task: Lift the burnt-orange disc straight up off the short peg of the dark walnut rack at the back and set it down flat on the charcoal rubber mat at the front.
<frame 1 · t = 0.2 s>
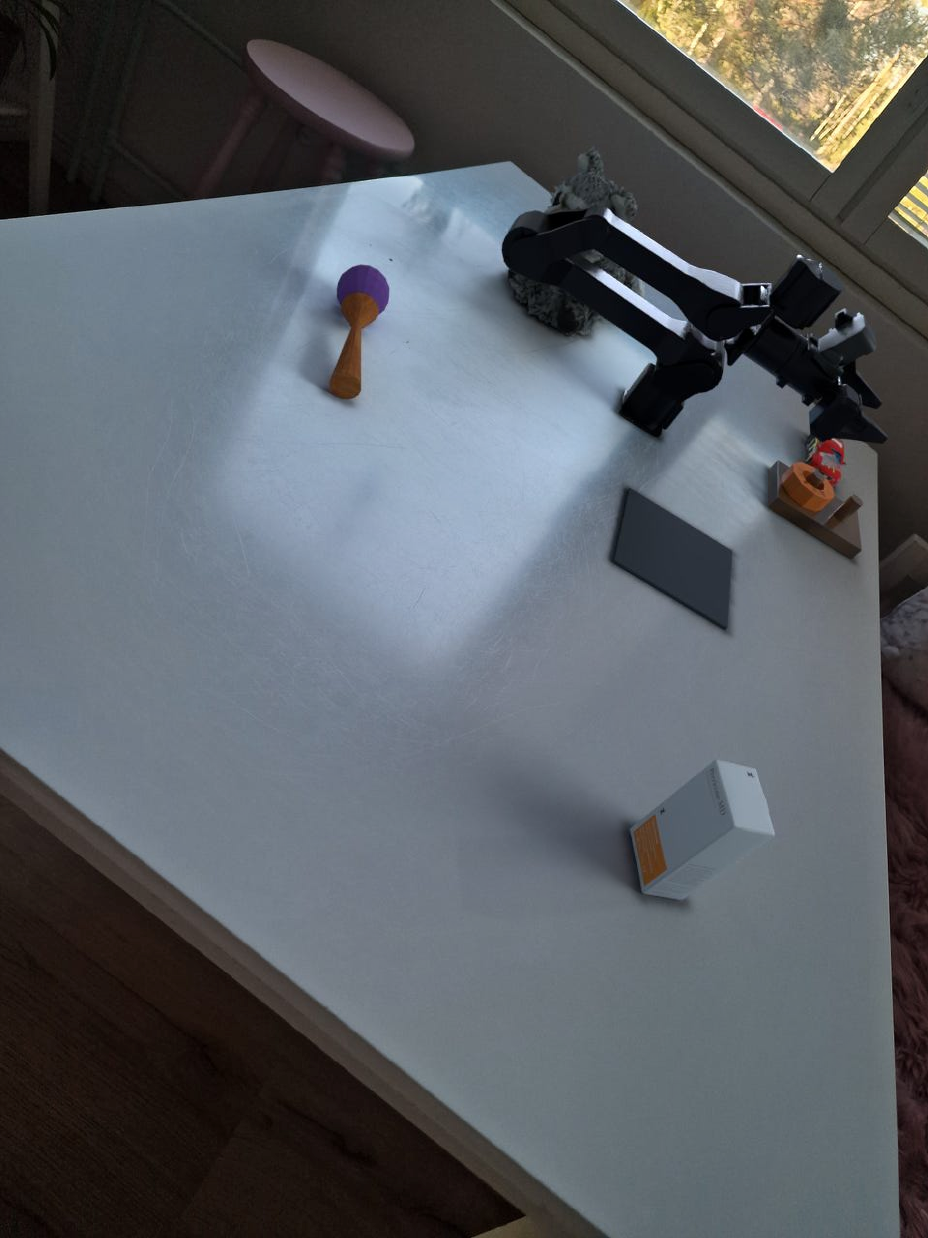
hand: (882, 422, 126), 17 cm above the table, tool horizontal, fingers open, 9 cm apart
race car: (816, 464, 151), on the table
raccoon plush: (562, 297, 145), on the table
cosmetic box: (652, 866, 83), on the table
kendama: (347, 347, 110), on the table
mat: (674, 557, 115), on the table
disc: (801, 492, 137), point 2 cm above the table, touching rack
rack: (809, 513, 138), on the table
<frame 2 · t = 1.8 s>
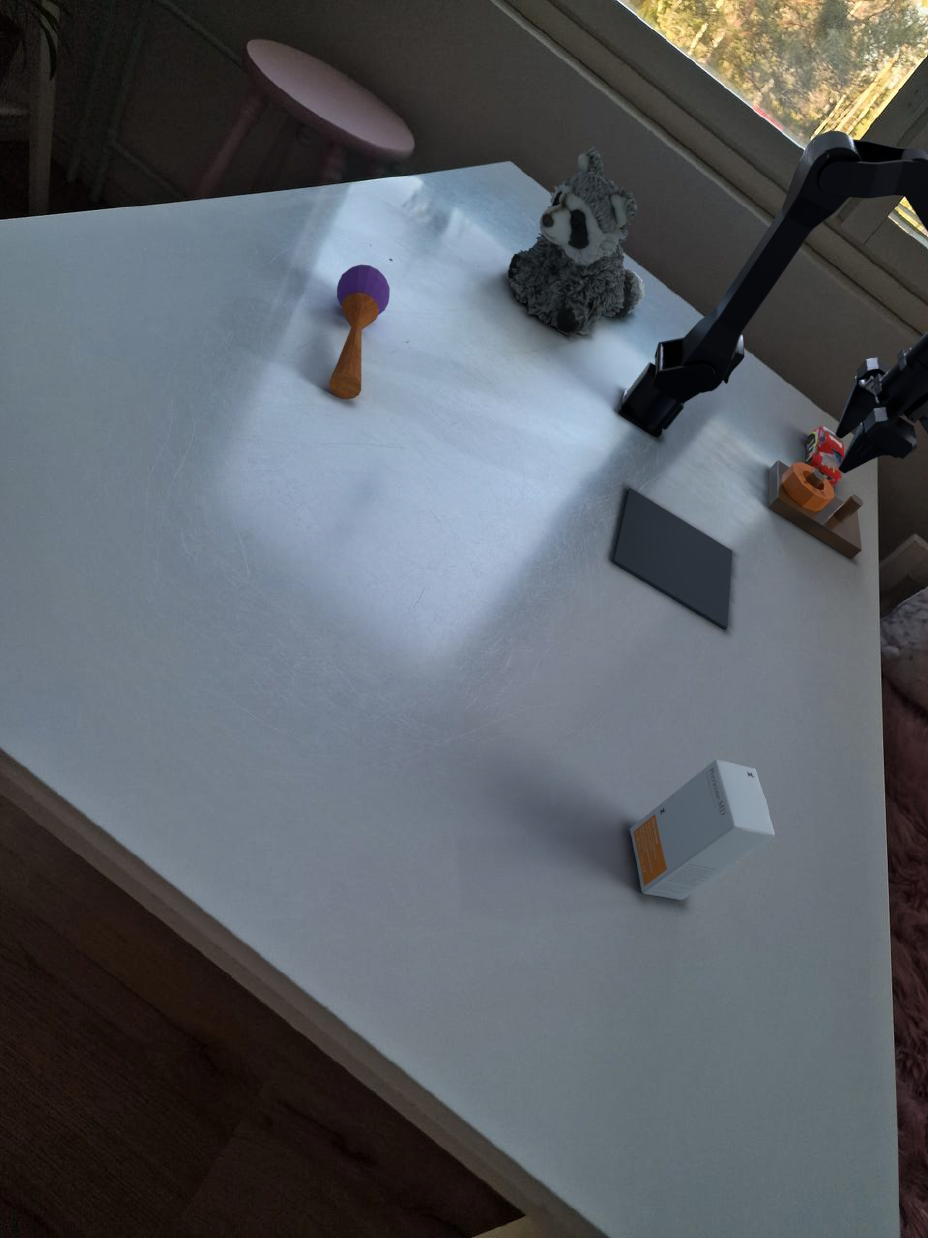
hand: (839, 453, 132), 10 cm above the table, tool pointing down, fingers open, 9 cm apart
nothing on the table moved.
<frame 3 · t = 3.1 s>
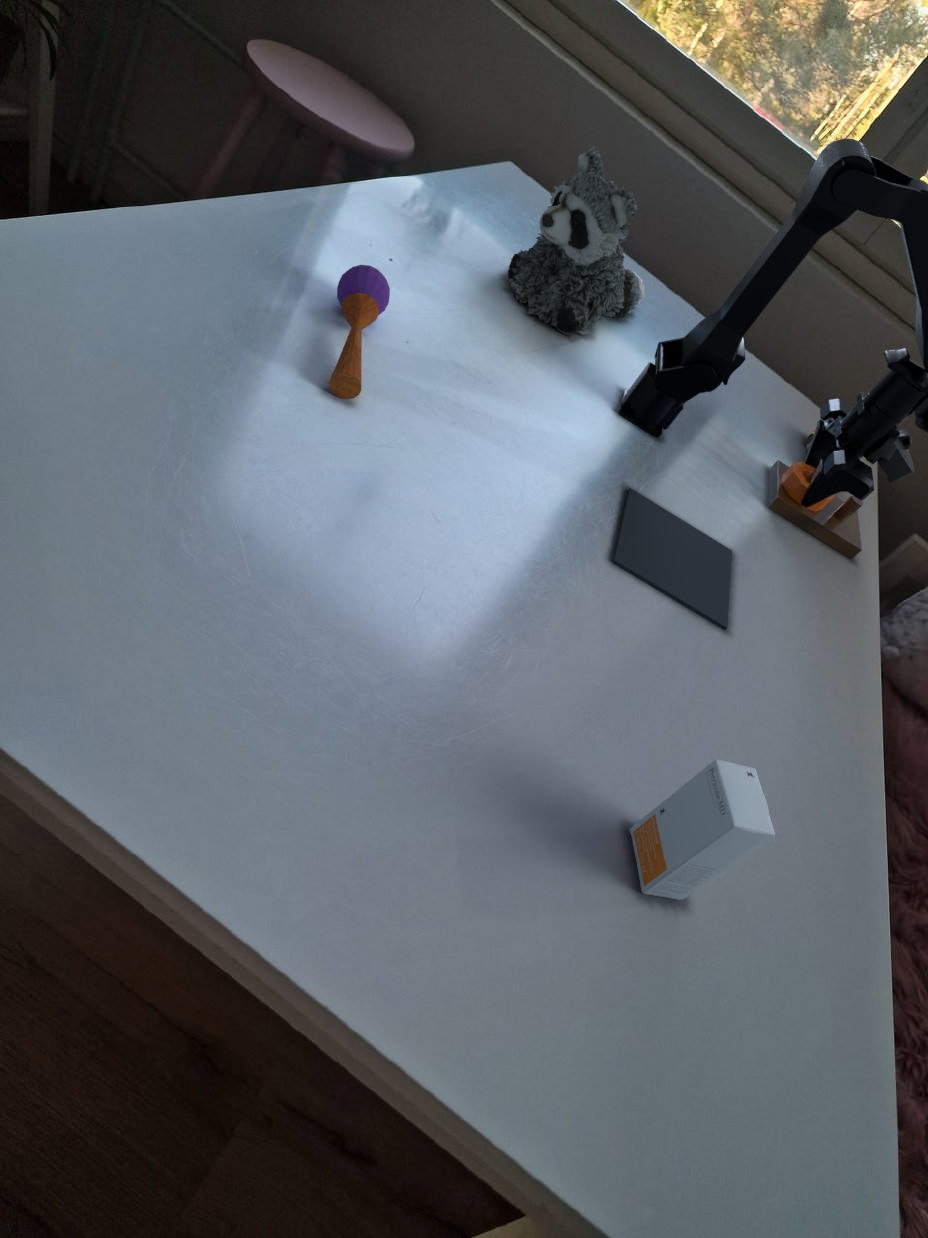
hand: (803, 491, 136), 2 cm above the table, tool pointing down, fingers closed on disc, 7 cm apart
disc: (801, 492, 137), point 2 cm above the table, touching gripper, rack
everything else where it was.
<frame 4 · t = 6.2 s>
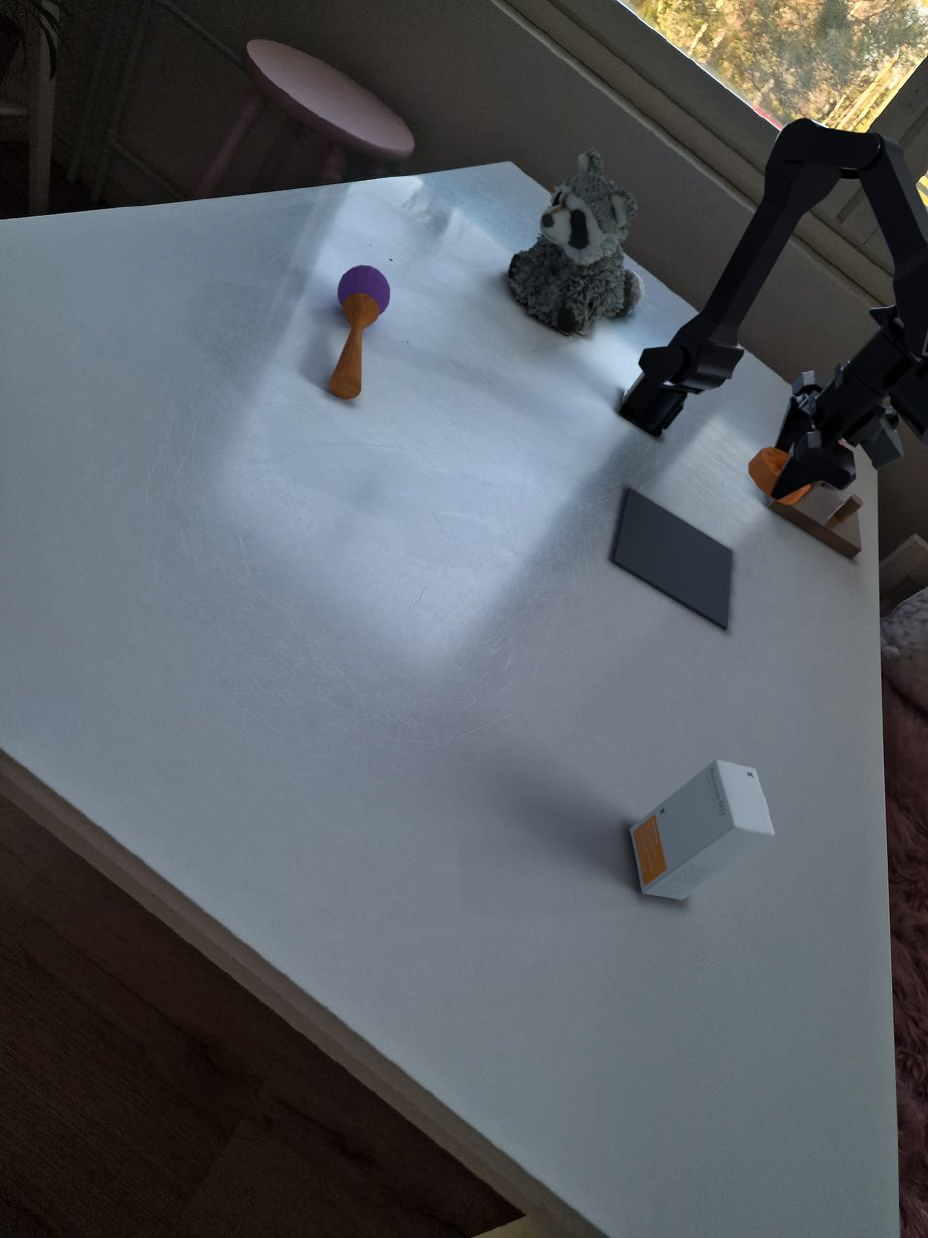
hand: (773, 480, 116), 10 cm above the table, tool pointing down, fingers closed on disc, 7 cm apart
disc: (772, 482, 116), point 10 cm above the table, touching gripper
everything else where it was.
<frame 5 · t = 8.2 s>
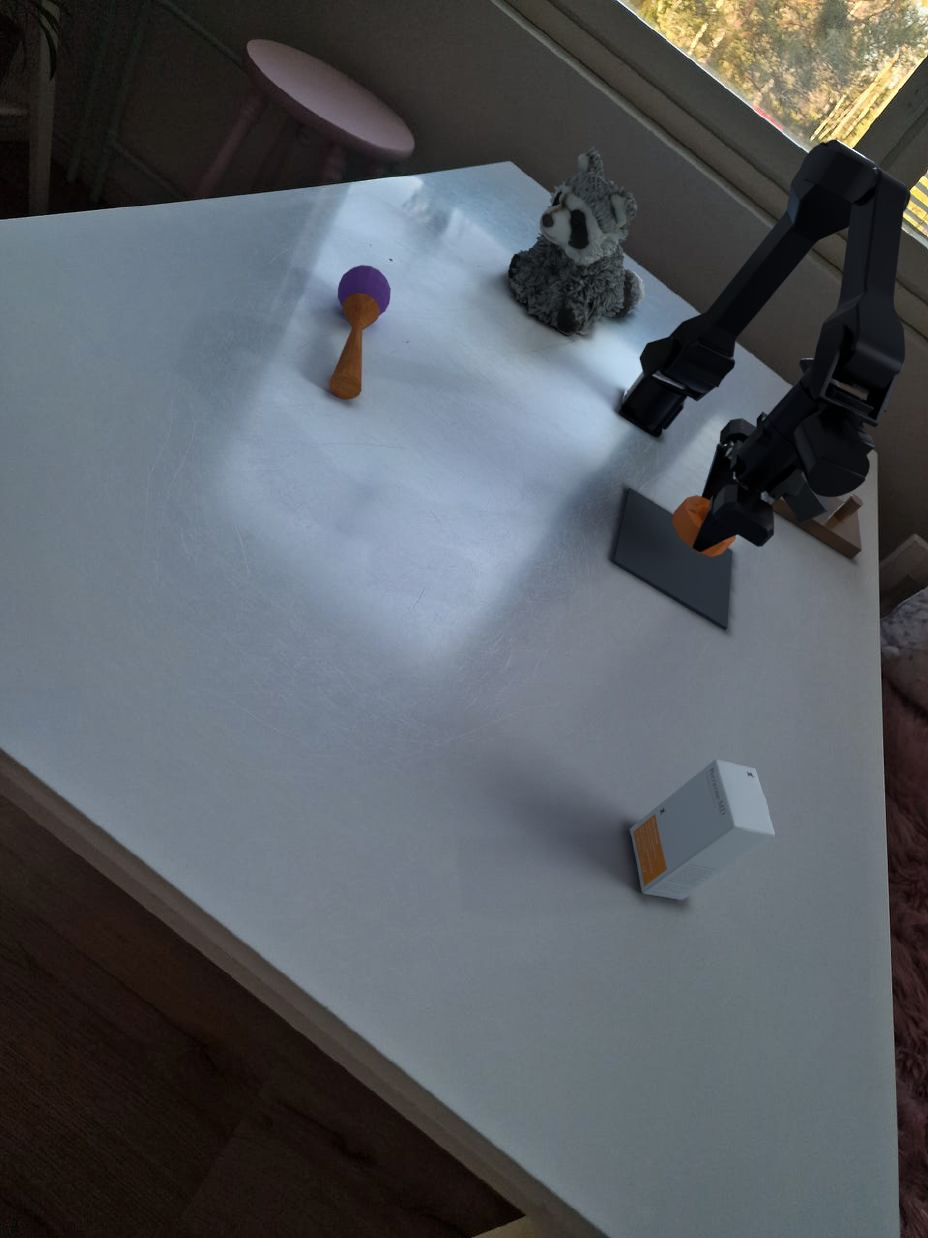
hand: (698, 530, 112), 4 cm above the table, tool pointing down, fingers closed on disc, 7 cm apart
disc: (697, 533, 112), point 4 cm above the table, touching gripper
everything else where it was.
when the fingers open (1 cm above the table, at t = 9.8 s): disc stays where it is, resting on mat.
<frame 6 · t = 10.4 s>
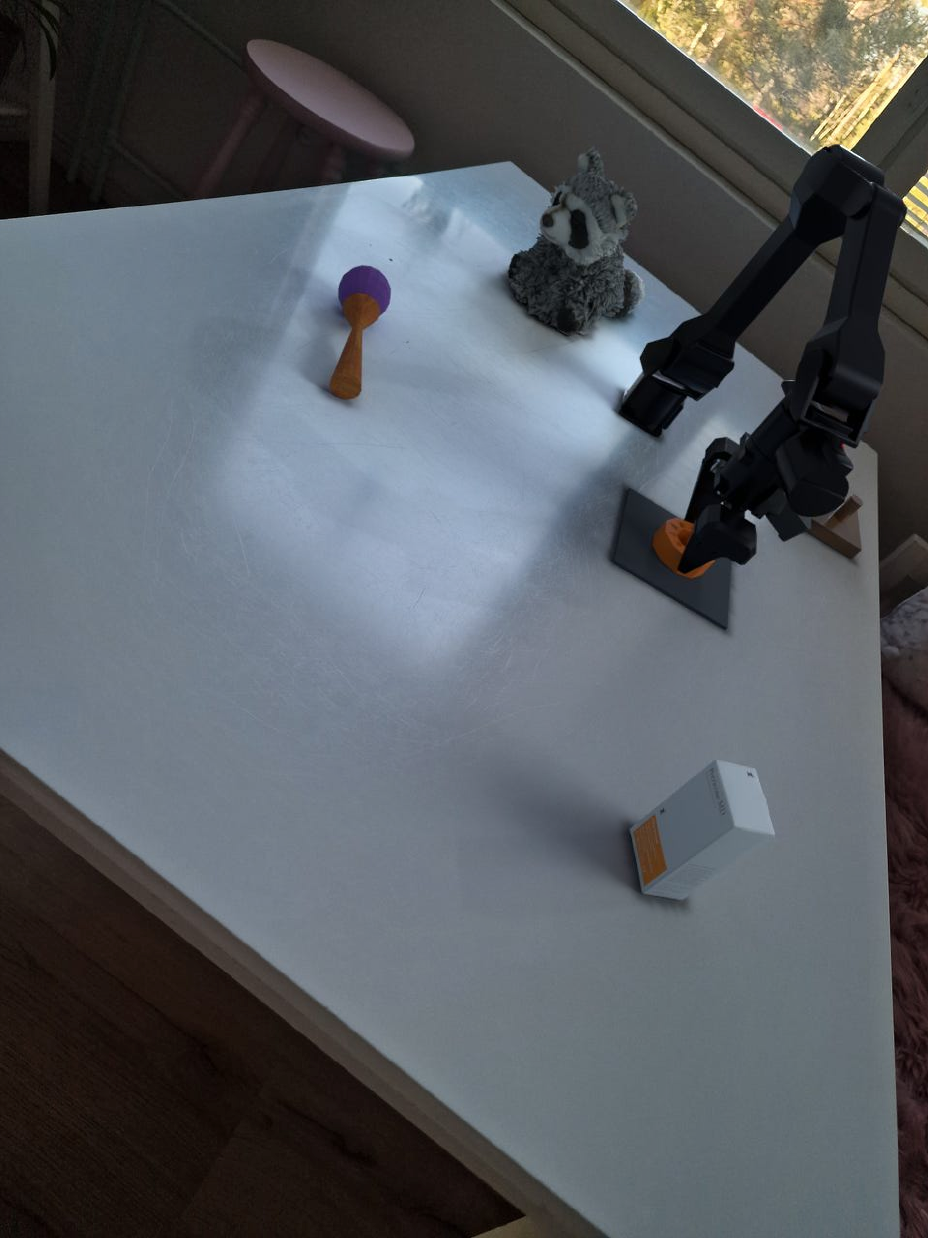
hand: (683, 547, 114), 2 cm above the table, tool pointing down, fingers open, 9 cm apart
disc: (677, 554, 115), resting on mat
everything else where it was.
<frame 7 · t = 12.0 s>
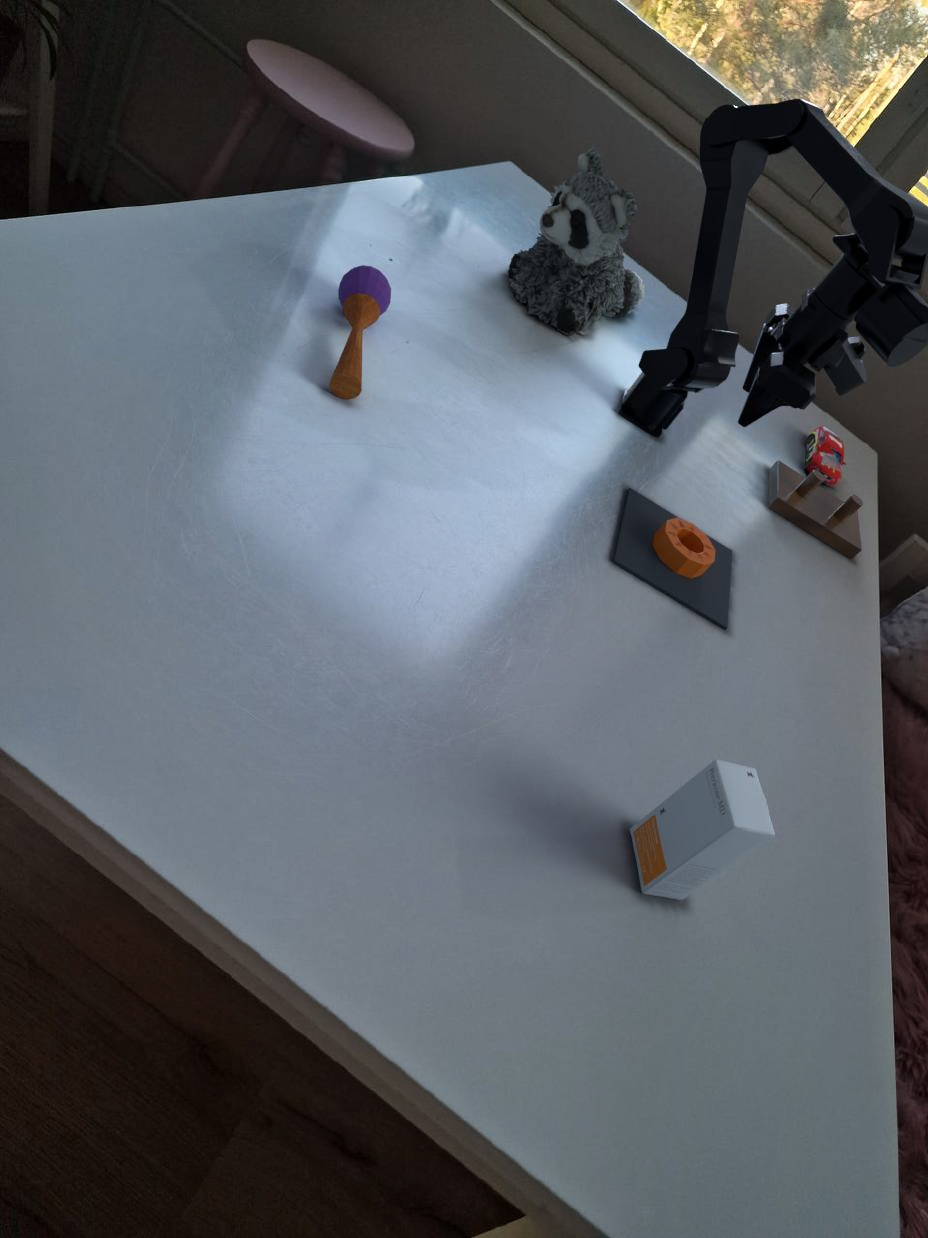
hand: (743, 407, 121), 12 cm above the table, tool pointing down, fingers open, 9 cm apart
nothing on the table moved.
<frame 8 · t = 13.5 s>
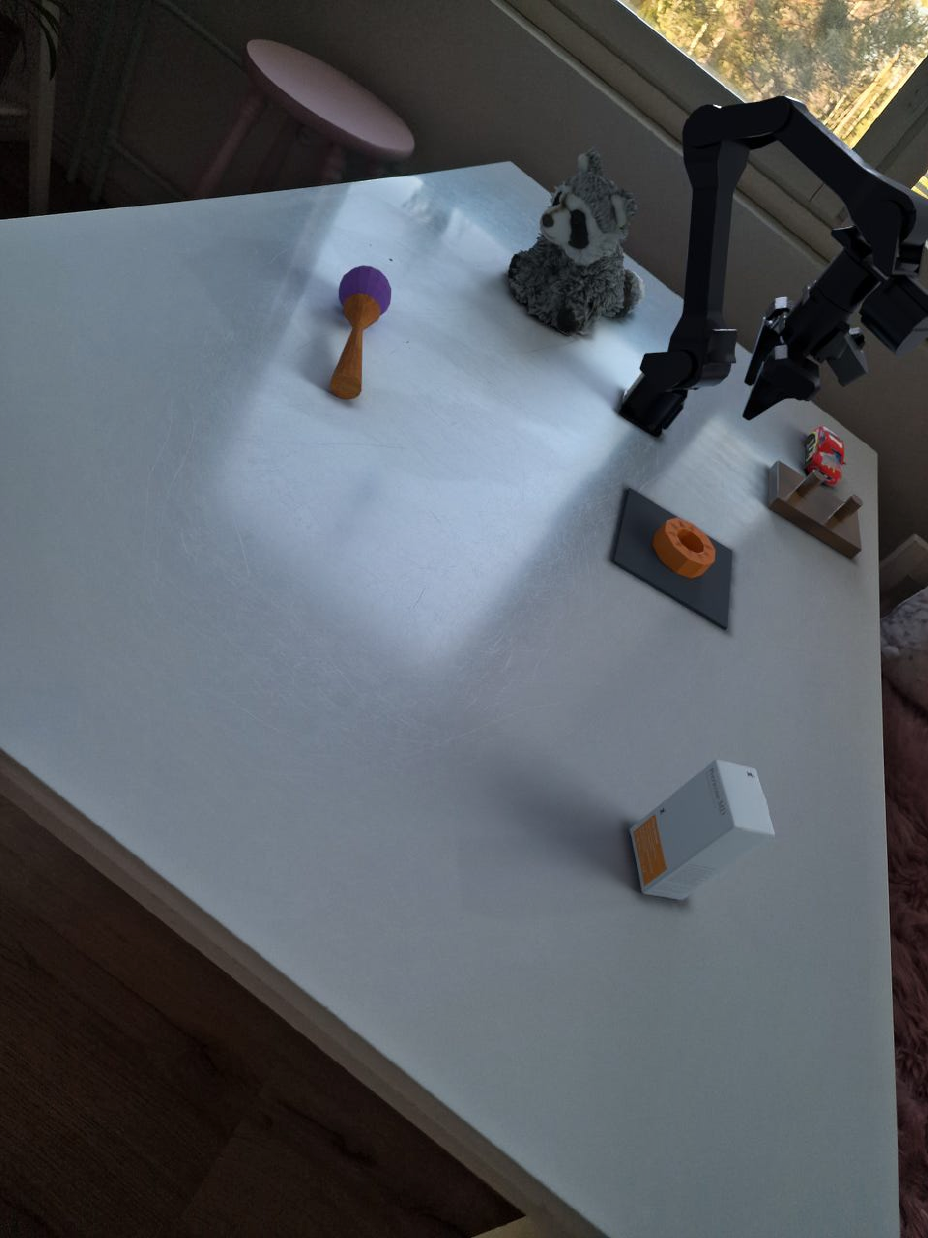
hand: (746, 400, 122), 12 cm above the table, tool pointing down, fingers open, 9 cm apart
nothing on the table moved.
at the end: disc inside the target area on the mat (0.1 cm from its centre), point 0.4 cm above the mat's base; disc tilted 0°; disc touching mat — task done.
